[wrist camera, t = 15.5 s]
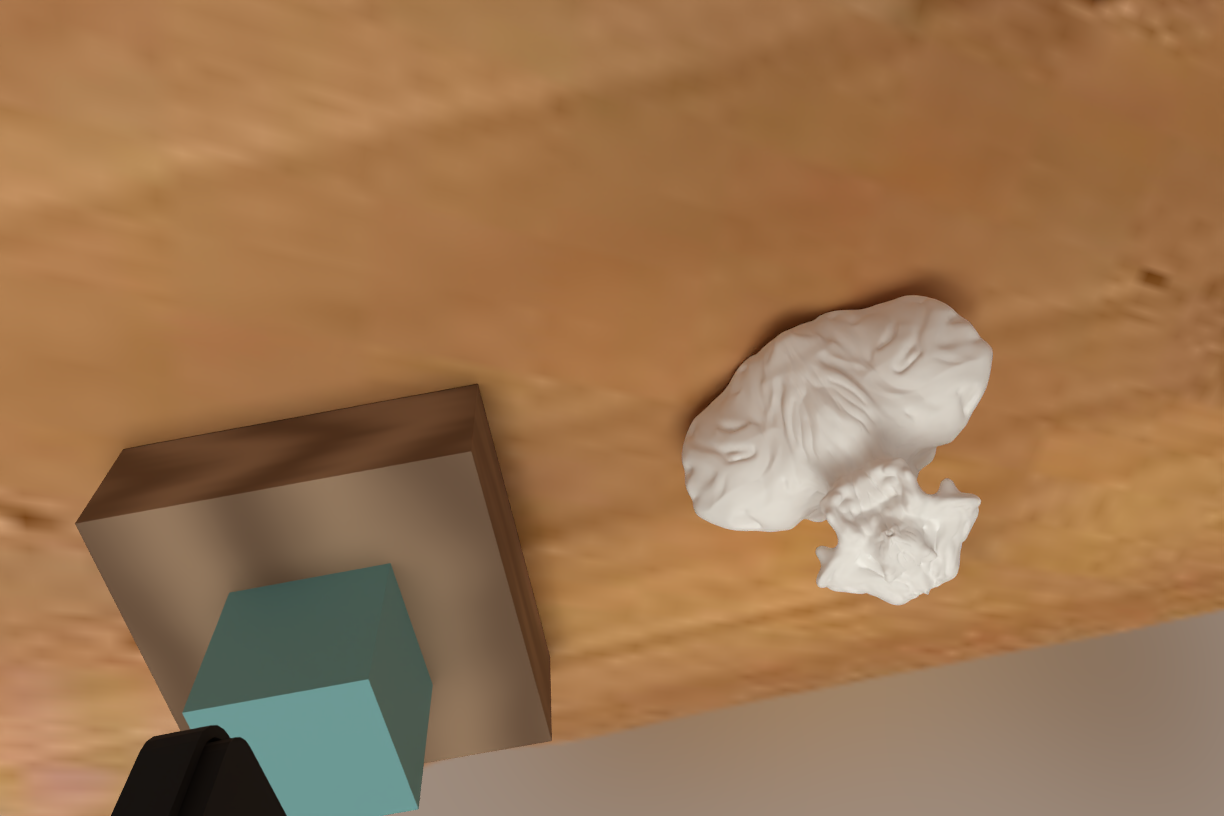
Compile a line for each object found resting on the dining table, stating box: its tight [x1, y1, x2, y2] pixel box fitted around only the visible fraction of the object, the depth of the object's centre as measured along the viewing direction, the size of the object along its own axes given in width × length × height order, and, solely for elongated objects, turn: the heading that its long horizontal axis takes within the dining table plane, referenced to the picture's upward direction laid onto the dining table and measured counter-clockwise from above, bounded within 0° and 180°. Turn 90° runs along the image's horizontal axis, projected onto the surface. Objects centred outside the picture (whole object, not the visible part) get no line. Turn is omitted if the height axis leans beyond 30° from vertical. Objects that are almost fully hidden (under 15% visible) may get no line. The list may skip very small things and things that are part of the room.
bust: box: [682, 295, 993, 605], centre depth 39 cm, size 12×8×11 cm
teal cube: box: [182, 563, 433, 816], centre depth 38 cm, size 6×6×6 cm
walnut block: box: [75, 384, 552, 763], centre depth 43 cm, size 14×14×5 cm
